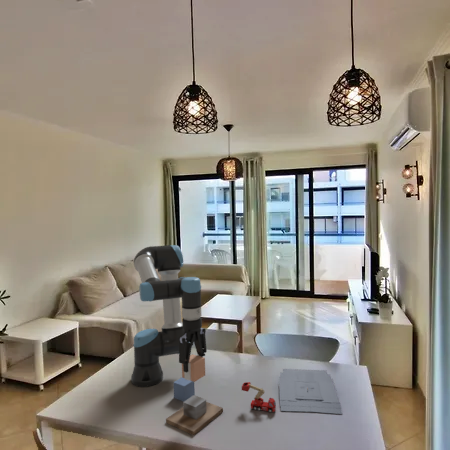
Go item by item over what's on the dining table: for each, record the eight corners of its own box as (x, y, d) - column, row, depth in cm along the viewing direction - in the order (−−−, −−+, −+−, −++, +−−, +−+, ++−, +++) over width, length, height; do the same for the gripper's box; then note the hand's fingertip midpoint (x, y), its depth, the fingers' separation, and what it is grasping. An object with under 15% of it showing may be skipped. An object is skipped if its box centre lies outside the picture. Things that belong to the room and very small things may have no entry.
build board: (166, 422, 134) (165, 406, 134) (196, 401, 149) (196, 386, 149) (193, 435, 126) (193, 418, 126) (223, 411, 141) (222, 395, 141)
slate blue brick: (173, 397, 152) (173, 382, 152) (183, 391, 158) (183, 376, 157) (184, 402, 149) (184, 386, 148) (194, 395, 154) (194, 380, 154)
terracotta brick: (182, 377, 136) (181, 359, 136) (193, 371, 141) (192, 354, 141) (194, 381, 132) (194, 363, 132) (205, 375, 138) (204, 357, 137)
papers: (330, 375, 166) (330, 368, 166) (343, 420, 137) (343, 412, 136) (278, 373, 170) (278, 366, 169) (280, 417, 140) (280, 408, 140)
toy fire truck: (275, 413, 139) (274, 389, 138) (241, 408, 143) (241, 384, 143) (276, 408, 142) (276, 385, 141) (244, 403, 146) (243, 381, 146)
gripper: (182, 326, 126) (184, 388, 127) (214, 312, 142) (216, 368, 143) (167, 322, 130) (169, 383, 131) (200, 310, 146) (202, 364, 147)
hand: (193, 375), depth 137 cm, fingers closed on terracotta brick, 6 cm apart
